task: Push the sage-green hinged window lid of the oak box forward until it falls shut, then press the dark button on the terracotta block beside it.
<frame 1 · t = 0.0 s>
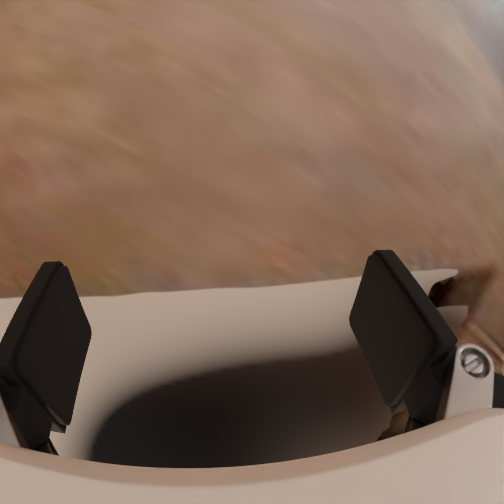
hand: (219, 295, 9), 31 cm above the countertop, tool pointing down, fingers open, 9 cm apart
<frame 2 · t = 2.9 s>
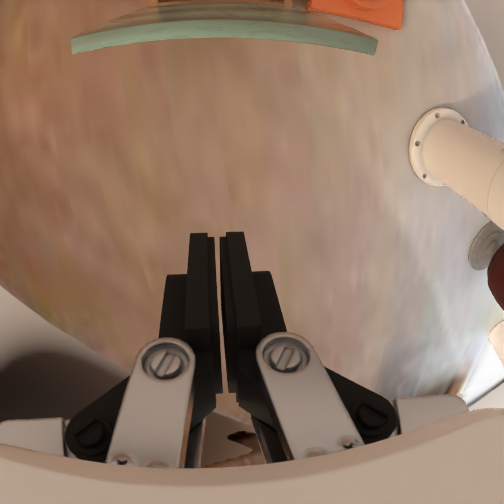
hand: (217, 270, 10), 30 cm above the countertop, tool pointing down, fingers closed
candle holder: (496, 329, 74), on the countertop
mate gourd: (485, 247, 52), on the countertop
window lid: (222, 13, 15), point 17 cm above the countertop, hinge at 105.1°
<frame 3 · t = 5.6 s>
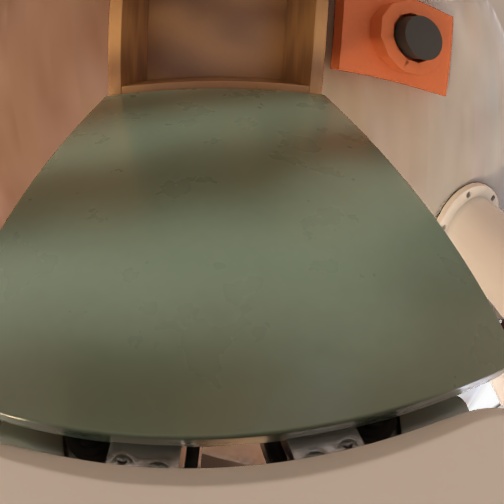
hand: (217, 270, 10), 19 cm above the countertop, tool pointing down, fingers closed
window box: (217, 1, 19), on the countertop
candle holder: (496, 368, 70), on the countertop
window lid: (217, 163, 10), point 17 cm above the countertop, hinge at 100.9°, touching gripper
button block: (392, 37, 22), on the countertop
button: (418, 37, 18), point 4 cm above the countertop, slide at 0.1 cm
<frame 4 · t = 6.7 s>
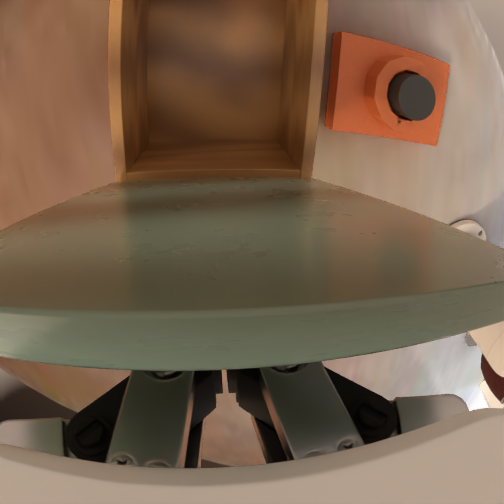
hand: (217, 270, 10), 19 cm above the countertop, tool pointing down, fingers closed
window box: (214, 59, 22), on the countertop
candle holder: (488, 378, 73), on the countertop
mate gourd: (483, 326, 52), on the countertop
window lid: (216, 207, 11), point 17 cm above the countertop, hinge at 74.1°, touching gripper
button block: (386, 89, 25), on the countertop
button: (412, 96, 21), point 4 cm above the countertop, slide at 0.1 cm
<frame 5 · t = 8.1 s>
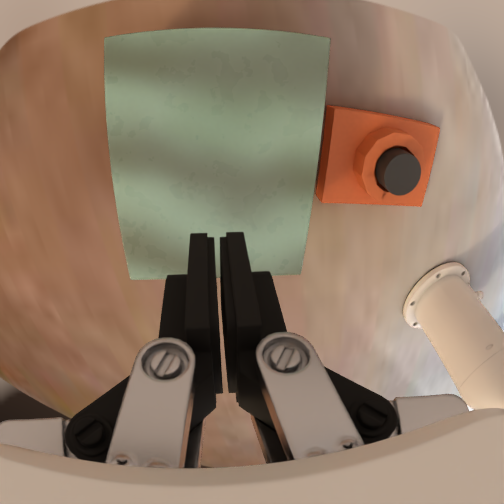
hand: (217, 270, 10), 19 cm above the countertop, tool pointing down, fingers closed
window lid: (214, 164, 18), point 9 cm above the countertop, hinge at -0.1°
button block: (376, 156, 29), on the countertop
button: (398, 171, 25), point 4 cm above the countertop, slide at 0.1 cm
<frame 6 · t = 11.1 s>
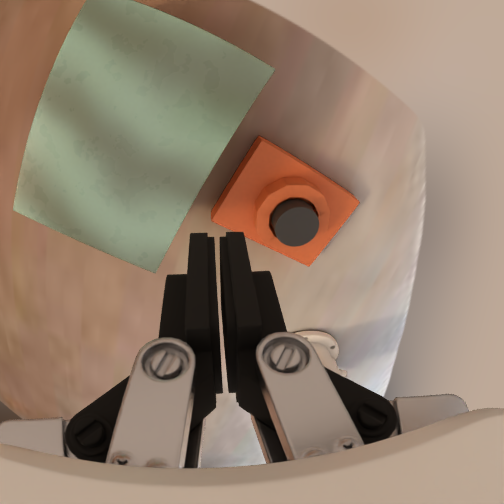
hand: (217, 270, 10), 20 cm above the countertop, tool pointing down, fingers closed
window lid: (118, 138, 17), point 9 cm above the countertop, hinge at -0.1°
button block: (284, 201, 32), on the countertop
button: (295, 222, 28), point 4 cm above the countertop, slide at 0.1 cm
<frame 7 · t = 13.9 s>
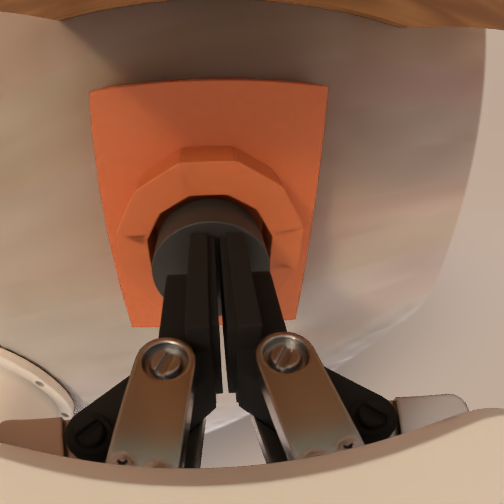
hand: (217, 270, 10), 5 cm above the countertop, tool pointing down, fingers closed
button block: (208, 205, 15), on the countertop
button: (210, 259, 11), point 4 cm above the countertop, slide at 0.1 cm, touching gripper
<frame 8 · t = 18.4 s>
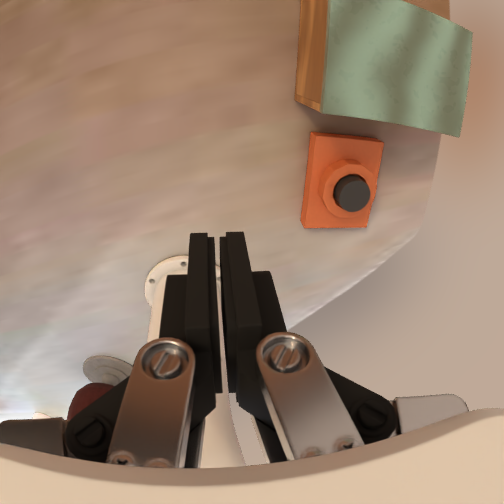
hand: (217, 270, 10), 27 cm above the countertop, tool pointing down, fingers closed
window box: (361, 58, 30), on the countertop
mate gourd: (107, 371, 55), on the countertop
window lid: (407, 62, 22), point 9 cm above the countertop, hinge at -0.1°
button block: (338, 179, 38), on the countertop
button: (352, 193, 35), point 4 cm above the countertop, slide at 0.1 cm
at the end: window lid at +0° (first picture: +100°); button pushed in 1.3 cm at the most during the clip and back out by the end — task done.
